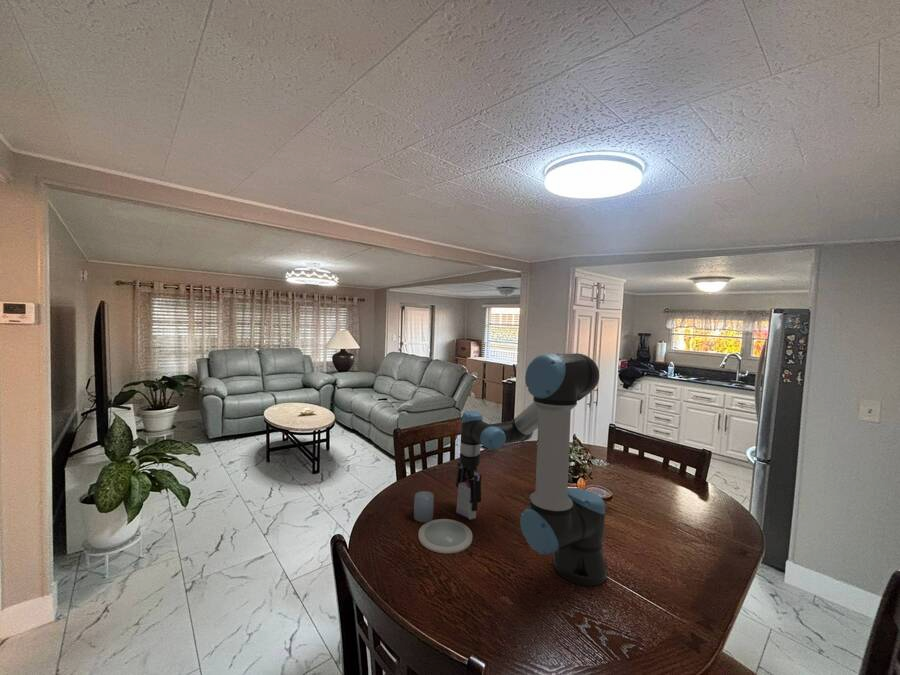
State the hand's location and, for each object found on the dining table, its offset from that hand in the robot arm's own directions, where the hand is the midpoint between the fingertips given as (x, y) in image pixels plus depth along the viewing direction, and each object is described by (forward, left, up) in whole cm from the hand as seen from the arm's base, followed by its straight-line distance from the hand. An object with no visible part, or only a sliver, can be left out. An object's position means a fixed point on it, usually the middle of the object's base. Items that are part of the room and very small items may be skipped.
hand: (466, 512), depth 140 cm
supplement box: (0, 0, -1) cm, 1 cm away
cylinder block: (+4, +16, 0) cm, 16 cm away
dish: (-10, +14, 0) cm, 17 cm away
